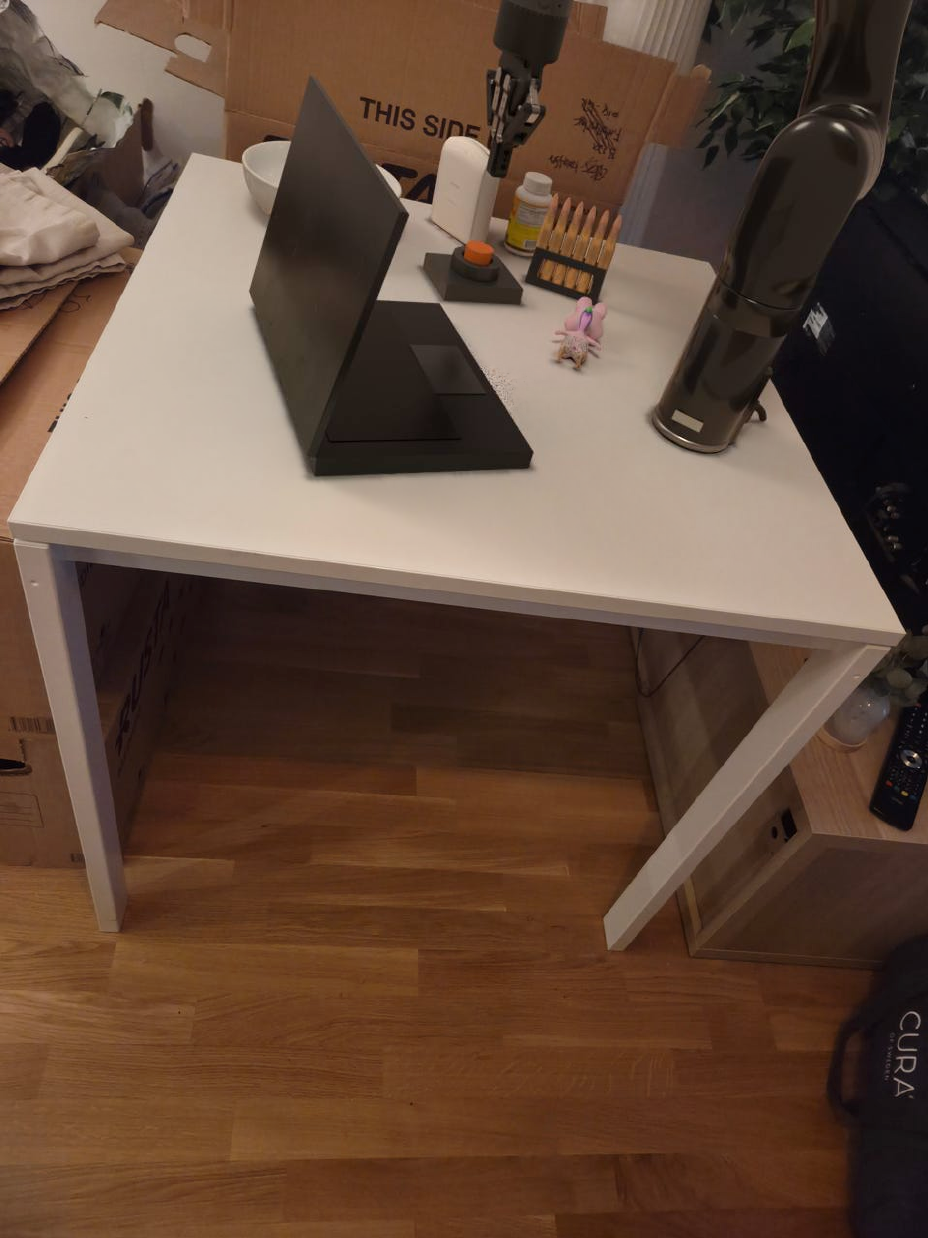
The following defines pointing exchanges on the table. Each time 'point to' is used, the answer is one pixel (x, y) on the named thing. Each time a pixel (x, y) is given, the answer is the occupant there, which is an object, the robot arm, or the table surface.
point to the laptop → (417, 402)
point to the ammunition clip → (576, 259)
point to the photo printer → (464, 190)
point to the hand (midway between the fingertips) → (495, 174)
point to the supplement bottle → (528, 214)
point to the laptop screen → (323, 260)
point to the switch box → (471, 279)
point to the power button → (478, 252)
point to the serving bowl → (278, 172)
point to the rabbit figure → (582, 330)
